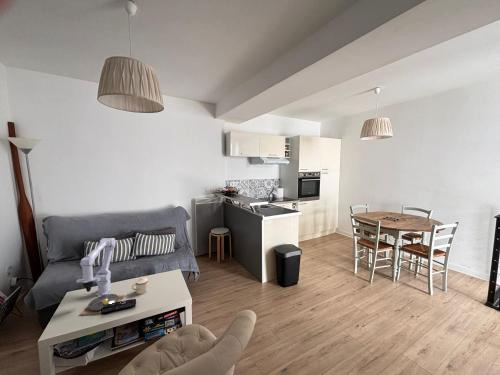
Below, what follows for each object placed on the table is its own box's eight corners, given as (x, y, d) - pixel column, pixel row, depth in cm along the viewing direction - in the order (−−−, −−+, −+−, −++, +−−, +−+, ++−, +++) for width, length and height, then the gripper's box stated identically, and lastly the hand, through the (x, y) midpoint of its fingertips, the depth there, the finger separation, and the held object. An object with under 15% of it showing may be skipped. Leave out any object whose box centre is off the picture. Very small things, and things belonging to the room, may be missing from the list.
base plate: (97, 298, 161) (97, 296, 161) (124, 296, 163) (124, 294, 163) (79, 315, 141) (79, 314, 141) (110, 313, 144) (110, 311, 144)
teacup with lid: (148, 287, 176) (148, 274, 175) (148, 292, 168) (147, 279, 167) (132, 290, 171) (132, 277, 171) (131, 296, 163) (130, 282, 162)
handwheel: (83, 313, 141) (82, 304, 141) (95, 298, 159) (95, 290, 158) (112, 309, 146) (112, 300, 145) (121, 294, 163) (121, 287, 163)
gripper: (73, 276, 147) (74, 295, 148) (95, 275, 149) (96, 293, 150) (79, 272, 154) (80, 289, 155) (100, 270, 156) (101, 287, 157)
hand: (88, 291), depth 153 cm, fingers closed
